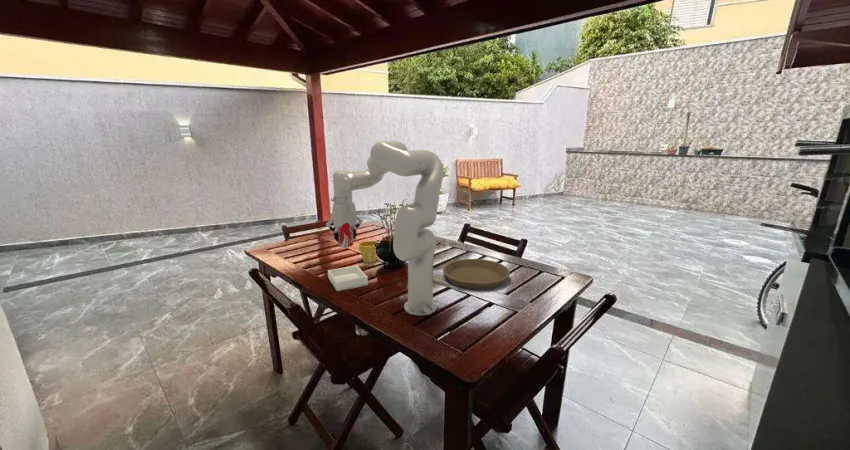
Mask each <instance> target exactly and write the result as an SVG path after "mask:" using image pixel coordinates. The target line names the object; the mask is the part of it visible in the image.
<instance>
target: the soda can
mask: <svg viewBox="0 0 850 450" xmlns="http://www.w3.org/2000/svg"><path fill="white" fill-rule="evenodd" d="M345 222H347V221H345ZM337 232H338V239H339V241H336V242H337V246H338V247H340V248H342V249H345V248H350V247H352V246H353V245H354V239H353V226H351V225H350V224H349V223H345V224H343V225H342V227H338V230H337Z"/></svg>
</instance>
